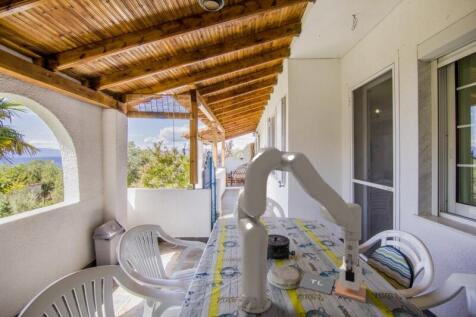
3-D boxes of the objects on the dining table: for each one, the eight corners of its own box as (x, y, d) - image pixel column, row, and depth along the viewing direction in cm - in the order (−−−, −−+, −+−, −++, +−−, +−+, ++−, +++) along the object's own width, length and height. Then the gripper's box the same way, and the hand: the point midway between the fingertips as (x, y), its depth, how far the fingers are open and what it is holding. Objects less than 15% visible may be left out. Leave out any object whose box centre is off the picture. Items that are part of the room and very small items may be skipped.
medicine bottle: (344, 278, 105) (344, 250, 105) (362, 284, 100) (362, 255, 100) (338, 285, 99) (339, 256, 99) (357, 291, 95) (358, 261, 95)
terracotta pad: (365, 302, 92) (365, 300, 92) (334, 294, 98) (334, 292, 98) (366, 288, 102) (366, 286, 102) (338, 281, 107) (338, 279, 107)
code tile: (330, 294, 98) (330, 294, 98) (298, 286, 104) (298, 285, 104) (334, 280, 109) (334, 279, 109) (305, 273, 115) (305, 272, 115)
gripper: (360, 242, 90) (359, 289, 90) (362, 229, 105) (361, 269, 106) (338, 239, 94) (338, 283, 94) (343, 226, 109) (343, 265, 109)
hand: (350, 275), depth 100 cm, fingers closed on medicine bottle, 7 cm apart
